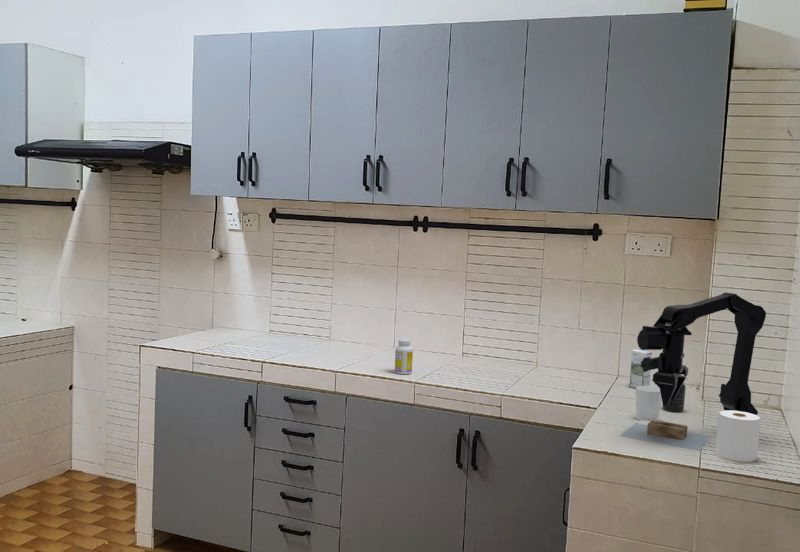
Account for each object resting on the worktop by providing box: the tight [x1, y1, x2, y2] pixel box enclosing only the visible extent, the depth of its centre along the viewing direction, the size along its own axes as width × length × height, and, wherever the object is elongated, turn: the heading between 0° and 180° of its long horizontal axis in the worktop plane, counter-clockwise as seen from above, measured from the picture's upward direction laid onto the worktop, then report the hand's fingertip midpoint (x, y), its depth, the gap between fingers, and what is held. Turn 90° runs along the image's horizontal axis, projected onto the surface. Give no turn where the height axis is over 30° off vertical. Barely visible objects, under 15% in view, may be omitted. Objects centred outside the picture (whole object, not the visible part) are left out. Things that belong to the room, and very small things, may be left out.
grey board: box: [619, 422, 712, 452], centre depth 230 cm, size 22×18×3 cm
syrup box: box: [629, 348, 653, 390], centre depth 297 cm, size 6×6×14 cm
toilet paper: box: [715, 409, 761, 463], centre depth 213 cm, size 10×10×12 cm
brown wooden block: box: [647, 420, 689, 440], centre depth 231 cm, size 10×6×3 cm, turn 59°
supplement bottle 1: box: [394, 338, 414, 375], centre depth 304 cm, size 7×7×13 cm
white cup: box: [635, 385, 662, 422], centre depth 251 cm, size 8×8×10 cm
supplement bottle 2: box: [662, 374, 687, 413], centre depth 265 cm, size 7×7×12 cm
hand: (668, 402), depth 230 cm, fingers open, 9 cm apart
